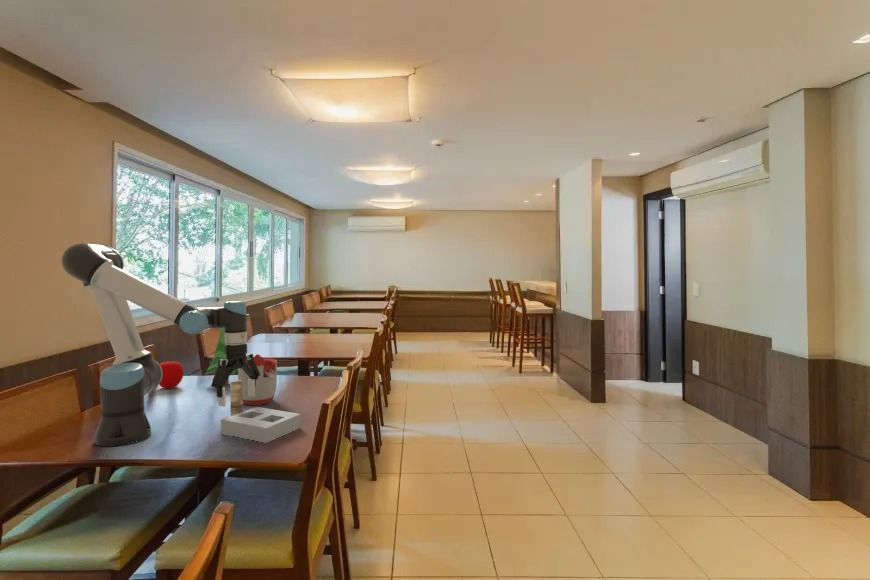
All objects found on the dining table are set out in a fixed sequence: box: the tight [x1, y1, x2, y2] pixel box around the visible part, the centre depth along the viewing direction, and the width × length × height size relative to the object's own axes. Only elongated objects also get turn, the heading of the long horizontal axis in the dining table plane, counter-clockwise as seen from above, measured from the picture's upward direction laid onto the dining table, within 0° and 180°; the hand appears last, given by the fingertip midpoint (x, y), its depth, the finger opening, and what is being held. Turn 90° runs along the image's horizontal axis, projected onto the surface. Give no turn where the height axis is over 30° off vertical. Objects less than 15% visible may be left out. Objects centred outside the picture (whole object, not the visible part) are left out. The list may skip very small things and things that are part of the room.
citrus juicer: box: [237, 354, 278, 406], centre depth 191 cm, size 16×17×20 cm
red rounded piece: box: [158, 360, 184, 390], centre depth 214 cm, size 11×11×13 cm
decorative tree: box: [204, 328, 238, 387], centre depth 220 cm, size 14×16×30 cm
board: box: [220, 406, 302, 444], centre depth 157 cm, size 16×20×5 cm
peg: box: [229, 379, 244, 416], centre depth 169 cm, size 4×4×14 cm
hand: (237, 401), depth 169 cm, fingers open, 13 cm apart
